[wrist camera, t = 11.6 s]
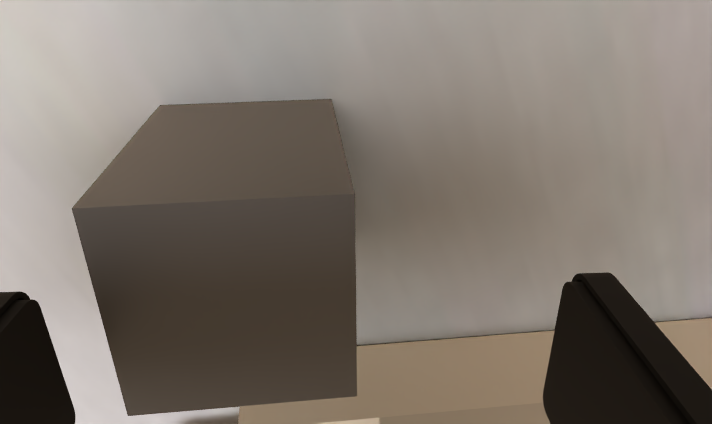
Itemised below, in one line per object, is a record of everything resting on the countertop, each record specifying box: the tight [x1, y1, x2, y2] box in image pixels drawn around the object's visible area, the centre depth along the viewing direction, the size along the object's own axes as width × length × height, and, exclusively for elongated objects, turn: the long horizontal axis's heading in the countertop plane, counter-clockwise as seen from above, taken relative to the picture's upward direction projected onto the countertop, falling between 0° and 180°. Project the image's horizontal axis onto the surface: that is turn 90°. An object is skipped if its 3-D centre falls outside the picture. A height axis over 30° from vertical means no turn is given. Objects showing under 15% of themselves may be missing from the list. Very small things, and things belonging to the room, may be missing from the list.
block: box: [72, 99, 357, 416], centre depth 14 cm, size 5×5×7 cm
